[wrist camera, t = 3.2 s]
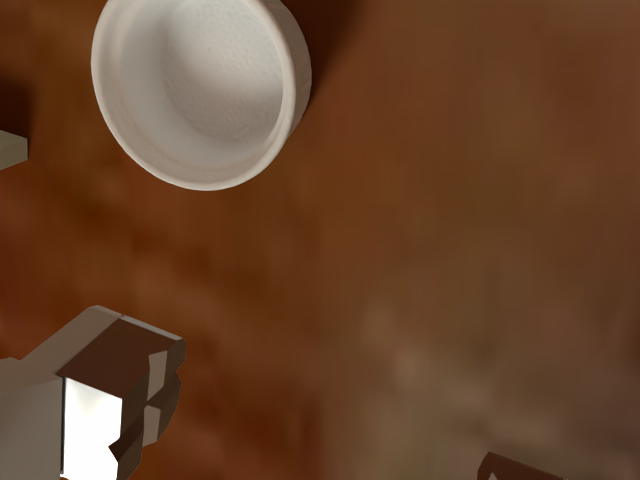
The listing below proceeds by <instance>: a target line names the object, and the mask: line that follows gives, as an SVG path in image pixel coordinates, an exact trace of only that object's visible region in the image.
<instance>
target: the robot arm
mask: <svg viewBox="0 0 640 480" xmlns="http://www.w3.org/2000/svg"><path fill="white" fill-rule="evenodd" d="M185 352H186V342H185V341H184V339H183V338H181V337H179V336H176V335H174V334H171V333H169V332H166V331H164V330H161V329H159V328H156V327H154V326H151V325H149V324H146V323H144V322H141V321H139V320H136V319H134V318H131V317H129V316H124V315H122V314H120V313H117V312H114V311H112V310H109V309H107V308H104V307H102V306H99V305H97V306H92V307H89V308H87V309H86V310H85V311H83V312H82V313H81V314H79V315H78V316H77V317H76V318H74V319H73V320H72V321H70V322H69V323H68V324H67V325H65V326H64V327H63V328H61V329H60V330H59V331H58V332H56V333H55V334H54V335H52V336H51V337H50V338H49V339H47V340H46V341H45V342H43V343H42V344H41V345H40V346H38V347H37V348H36V349H34V350H33V351H32V352H31V353H29V354H28V355H27V356H25V357H24V358H23V359H22V360H20V361H19V360H16V359H14V358H11V357H10V358H6V359H2V360H0V480H59V479H60V475H61V476H63V477H66V478H68V479H71V480H127V479H128V478H129V477H130V475H131V474H132V473H133V472H134V470H135V469H136V468H137V466H138V465H139V464H140V462H141V453H142V447H143V446H146V445H148V444H151V443H153V442H156V441H157V440H158V439H159V437H160V436H161V435H162V433H163V432H164V430H165V429H166V428H167V426H168V424H169V422H170V420H171V418H172V416H173V414H174V412H175V410H176V406H177V403H178V400H179V396H180V391H181V384H182V383H181V381H180V379H179V377H178V375H177V373H176V370H177V369H178V368H179V367H180V366H181V364H182V363H183V362H184V361H185ZM477 480H569V479H567V478H564V477H561V478H560V477H558V476H556V475H553V474H550V473H547V472H545V471H542V470H539V469H536V468H534V467H531V466H528V465H525V464H523V463H520V462H517V461H514V460H512V459H509V458H506V457H503V456H500V455H498V454H495V453H492V452H488V453H487V455H486V456H485V457H484V459H483V461H482V463H481V465H480V467H479V469H478V475H477Z"/></svg>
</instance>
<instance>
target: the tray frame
mask: <svg viewBox="0 0 640 480" xmlns="http://www.w3.org/2000/svg"><path fill="white" fill-rule="evenodd" d="M25 160H28V148H27V138H24V137H21V136H17V135H14V134H11V133H8V132H5V131H2V130H0V170H2V169H4V168H7V167H10V166H12V165H15V164H17V163H20V162H23V161H25Z"/></svg>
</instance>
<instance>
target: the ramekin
mask: <svg viewBox="0 0 640 480" xmlns="http://www.w3.org/2000/svg"><path fill="white" fill-rule="evenodd" d="M91 68H92V79H93V85H94V90H95V94H96V98H97V101H98V104H99V107H100V110H101V113H102V114H103V117H104V119H105V122H106V123H107V125H108V127H109V129H110V131H111V132H112V134H113V135H114V137H115V138H116V140H117V141H118V143H119V144H120V145H121V146H122V148H123V149H124V150H125V152H126V153H127V154H128V155H130V156H131V157H132V158H133V159H134V160H135V161H136V162H137V163H138V164H139V165H140V166H141V167H143V168H144V169H145V170H147V171H148V172H150V173H151V174H153V175H154V176H156V177H158V178H160V179H162V180H164V181H166V182H168V183H171V184H174V185H177V186H180V187H184V188H187V189H194V190H219V189H225V188H229V187H233V186H236V185H238V184H241V183H243V182H245V181H247V180H249V179H251V178H252V177H254V176H256V175H257V174H259V173H260V172H261V171H262V170H264V169H265V168H266V167H267V166H268V165H269V164H270V163H271V161H272V160H273V159H274V158H275V157H276V155H277V154H278V153H279V151H280V150H281V148H282V147H283V145H284V143H285V141H286V139H287V138H288V137H289V136H290V135H291V134H292V132H293V131H294V129H295V127H296V126H297V125H298V124H299V122H300V120H301V118H302V115H303V113H304V112H305V110H306V107H307V103H308V101H309V97H310V90H311V84H312V79H311V77H312V70H311V63H310V56H309V52H308V47H307V44H306V41H305V39H304V36H303V33H302V31H301V29H300V28H299V25H298V23H297V21H296V20H295V18H294V17H293V15H292V14H291V12H290V11H289V10H288V8H287V7H286V6H285V5H284V4H283V3H282V2H281V1H280V0H108V2H107V3H106V5H105V7H104V9H103V11H102V13H101V15H100V18H99V20H98V23H97V26H96V30H95V34H94V39H93V45H92V55H91Z"/></svg>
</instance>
